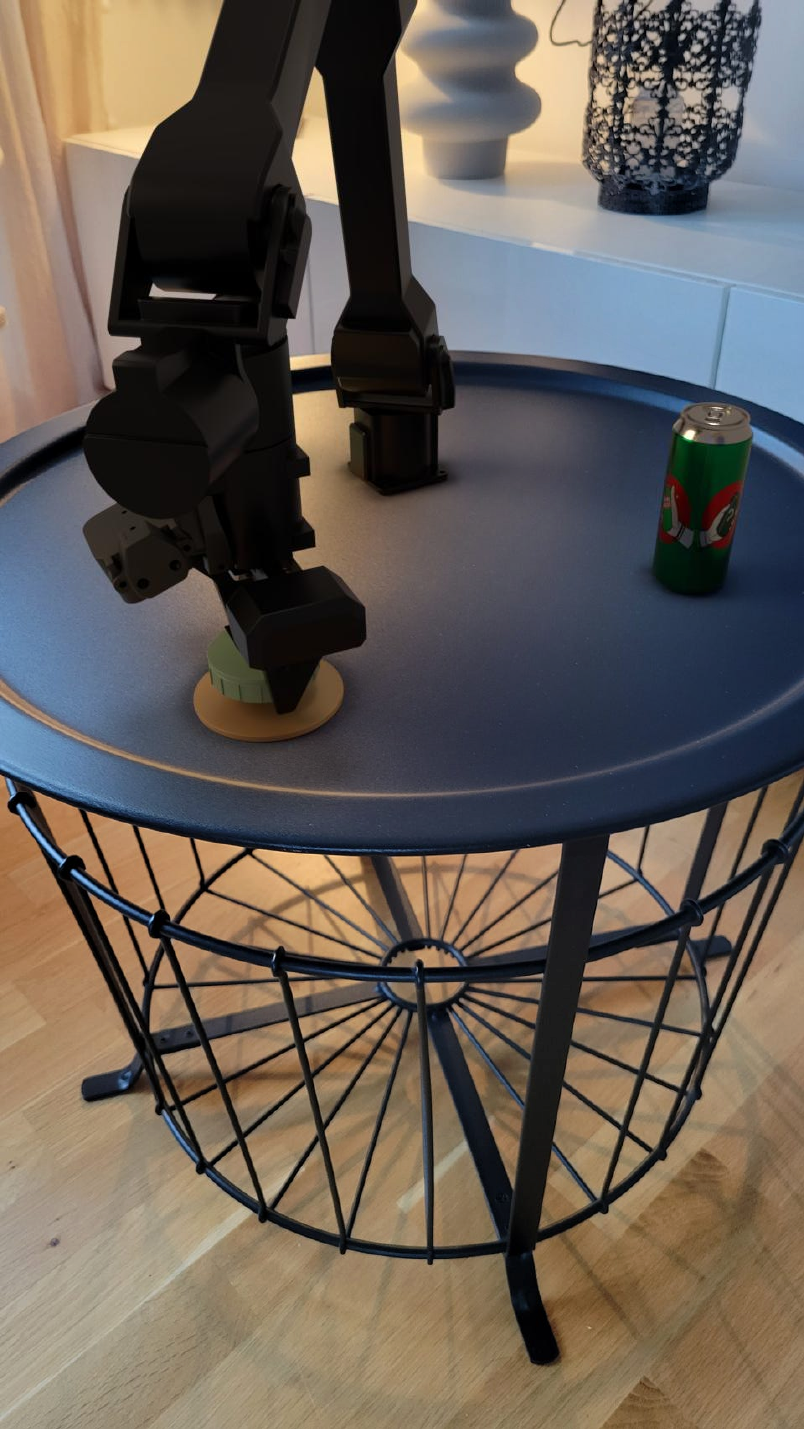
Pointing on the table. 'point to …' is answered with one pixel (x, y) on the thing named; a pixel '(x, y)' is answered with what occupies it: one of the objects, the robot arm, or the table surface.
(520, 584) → the table surface
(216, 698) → the coaster
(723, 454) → the soda can
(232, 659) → the lid
